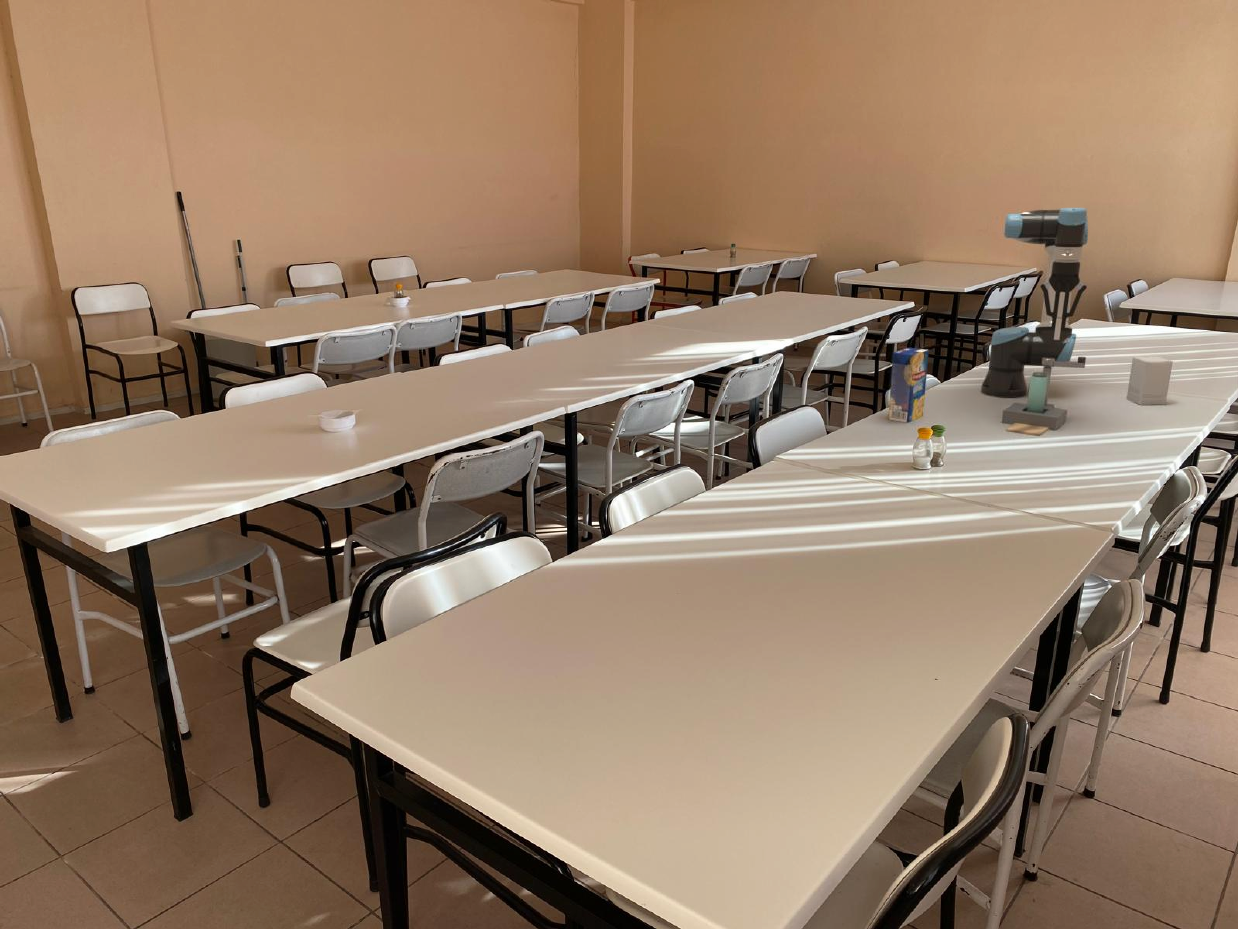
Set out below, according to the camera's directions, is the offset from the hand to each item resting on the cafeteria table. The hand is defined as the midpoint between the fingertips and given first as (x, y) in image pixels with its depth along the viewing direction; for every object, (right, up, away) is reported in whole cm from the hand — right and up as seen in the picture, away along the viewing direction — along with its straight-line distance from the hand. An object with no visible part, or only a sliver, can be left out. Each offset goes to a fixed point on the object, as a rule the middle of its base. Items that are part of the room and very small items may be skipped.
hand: (1056, 338), depth 275 cm
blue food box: (-41, -24, +17) cm, 50 cm away
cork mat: (-9, -28, 0) cm, 30 cm away
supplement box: (+45, -18, +29) cm, 56 cm away
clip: (+6, -8, +8) cm, 12 cm away
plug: (-3, -25, +8) cm, 27 cm away
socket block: (-2, -25, +10) cm, 27 cm away
